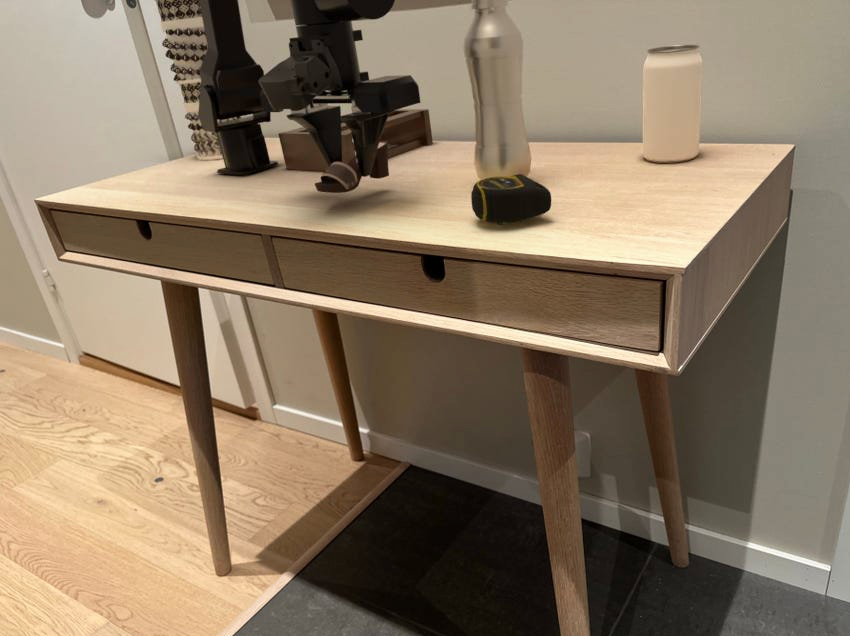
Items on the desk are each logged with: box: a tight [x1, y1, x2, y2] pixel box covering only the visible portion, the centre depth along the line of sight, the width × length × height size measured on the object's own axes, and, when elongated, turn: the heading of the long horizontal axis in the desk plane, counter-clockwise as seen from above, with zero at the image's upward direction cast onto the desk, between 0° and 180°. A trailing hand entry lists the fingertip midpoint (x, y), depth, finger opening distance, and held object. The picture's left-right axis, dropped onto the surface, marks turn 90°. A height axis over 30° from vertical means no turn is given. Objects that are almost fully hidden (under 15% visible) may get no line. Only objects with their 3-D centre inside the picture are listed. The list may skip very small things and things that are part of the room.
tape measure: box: [470, 174, 552, 226], centre depth 67 cm, size 7×7×4 cm
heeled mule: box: [314, 141, 390, 194], centre depth 79 cm, size 4×11×4 cm, turn 141°
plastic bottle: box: [462, 0, 532, 181], centre depth 76 cm, size 6×7×20 cm
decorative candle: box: [154, 0, 242, 161], centre depth 112 cm, size 9×9×25 cm
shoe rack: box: [278, 108, 434, 172], centre depth 103 cm, size 13×18×5 cm
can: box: [642, 44, 703, 164], centre depth 81 cm, size 6×6×12 cm
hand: (351, 174), depth 80 cm, fingers closed on heeled mule, 4 cm apart
